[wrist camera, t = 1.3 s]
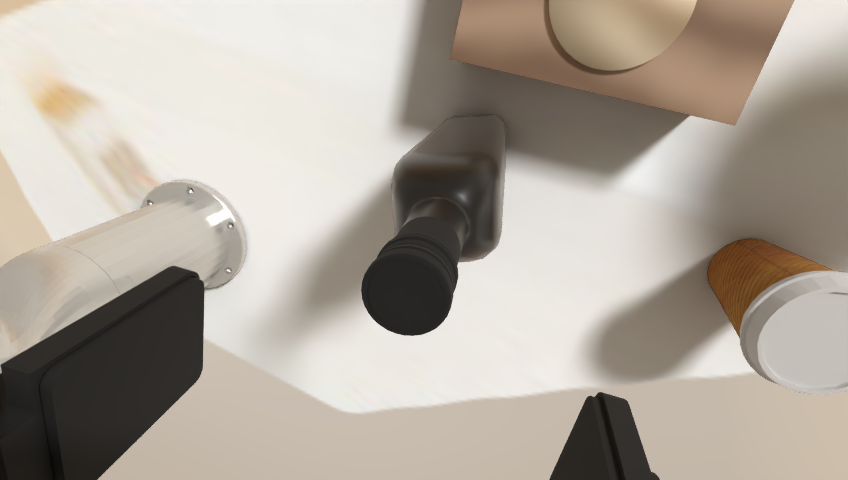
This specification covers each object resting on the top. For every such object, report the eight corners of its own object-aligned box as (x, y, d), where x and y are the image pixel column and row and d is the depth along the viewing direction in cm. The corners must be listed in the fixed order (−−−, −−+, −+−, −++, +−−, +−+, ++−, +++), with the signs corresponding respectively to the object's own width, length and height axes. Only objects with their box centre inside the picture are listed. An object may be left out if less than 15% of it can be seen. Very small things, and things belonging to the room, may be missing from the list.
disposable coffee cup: (787, 320, 43) (883, 408, 32) (678, 310, 44) (733, 391, 33) (819, 224, 39) (939, 286, 28) (700, 218, 41) (770, 274, 30)
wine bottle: (445, 177, 44) (333, 366, 16) (442, 116, 42) (309, 214, 14) (505, 175, 43) (494, 375, 15) (505, 113, 41) (492, 212, 13)
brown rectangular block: (691, 114, 38) (737, 126, 30) (461, 60, 40) (449, 59, 32) (762, -50, 33) (837, -85, 26) (498, -102, 35) (494, -150, 27)
